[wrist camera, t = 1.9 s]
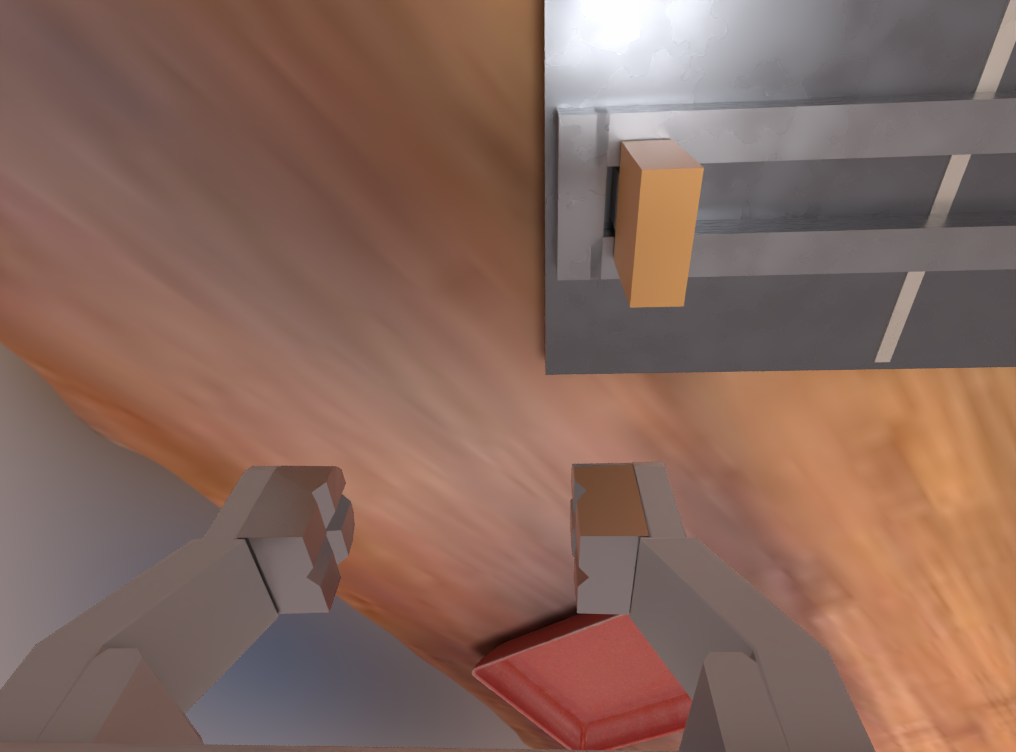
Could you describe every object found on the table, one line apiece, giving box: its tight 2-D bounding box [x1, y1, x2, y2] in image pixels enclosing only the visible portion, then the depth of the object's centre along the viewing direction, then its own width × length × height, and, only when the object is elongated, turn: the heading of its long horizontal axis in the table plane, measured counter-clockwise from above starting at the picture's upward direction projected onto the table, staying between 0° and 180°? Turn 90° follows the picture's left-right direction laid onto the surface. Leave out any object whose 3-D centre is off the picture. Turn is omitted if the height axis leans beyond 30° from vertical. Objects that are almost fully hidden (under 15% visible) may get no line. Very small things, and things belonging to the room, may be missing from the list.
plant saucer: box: [472, 613, 692, 750], centre depth 49 cm, size 18×18×3 cm
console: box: [543, 0, 1016, 375], centre depth 25 cm, size 28×20×4 cm
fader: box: [610, 140, 704, 308], centre depth 22 cm, size 2×5×7 cm, turn 2°
